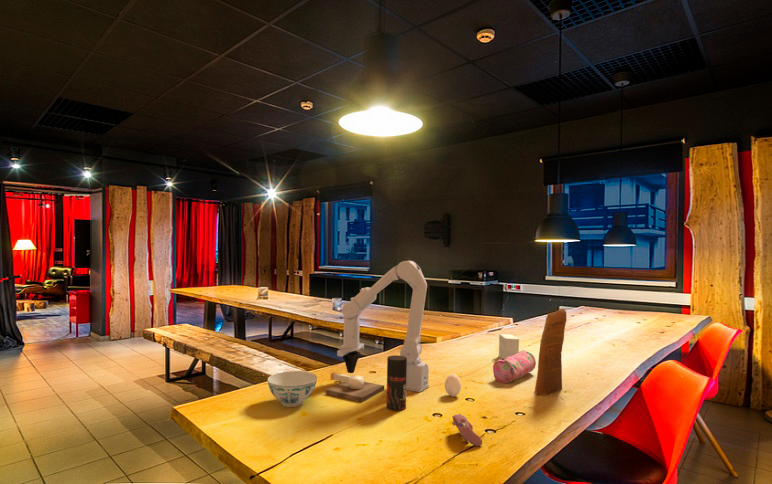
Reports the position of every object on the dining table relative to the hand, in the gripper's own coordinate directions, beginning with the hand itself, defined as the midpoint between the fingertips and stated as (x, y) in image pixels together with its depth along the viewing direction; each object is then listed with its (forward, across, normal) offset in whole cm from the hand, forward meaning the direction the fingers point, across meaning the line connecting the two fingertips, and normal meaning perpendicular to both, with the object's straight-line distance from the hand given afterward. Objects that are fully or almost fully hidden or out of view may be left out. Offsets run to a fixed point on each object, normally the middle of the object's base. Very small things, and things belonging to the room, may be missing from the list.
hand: (350, 372), depth 156 cm
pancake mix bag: (+3, -29, +64) cm, 71 cm away
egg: (+3, -5, +37) cm, 38 cm away
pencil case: (+4, -38, +50) cm, 63 cm away
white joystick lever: (+1, +9, +4) cm, 10 cm away
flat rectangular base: (+3, +9, +8) cm, 12 cm away
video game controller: (+3, +23, +51) cm, 57 cm away
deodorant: (+3, +14, +26) cm, 30 cm away
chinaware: (+3, +28, -3) cm, 28 cm away
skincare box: (+3, -64, +41) cm, 76 cm away
